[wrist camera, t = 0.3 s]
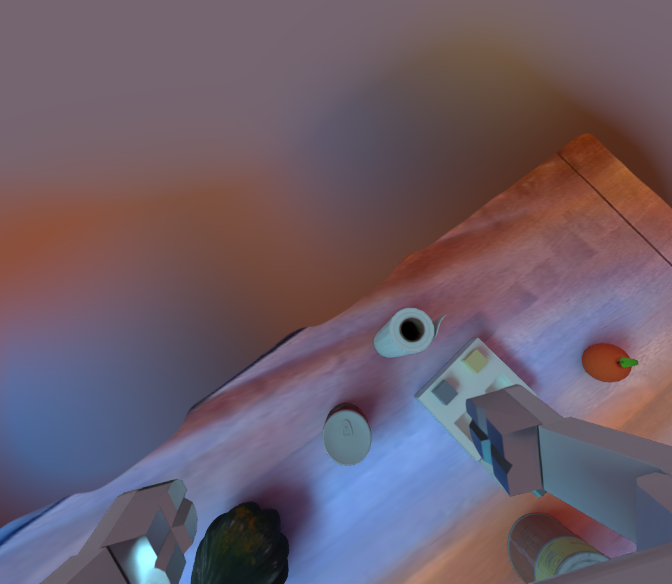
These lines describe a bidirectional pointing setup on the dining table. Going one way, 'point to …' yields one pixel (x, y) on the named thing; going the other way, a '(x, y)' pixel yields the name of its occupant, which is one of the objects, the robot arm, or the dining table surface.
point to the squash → (243, 549)
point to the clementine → (607, 362)
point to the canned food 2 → (547, 548)
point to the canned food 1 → (346, 435)
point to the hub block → (465, 389)
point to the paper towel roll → (406, 333)
